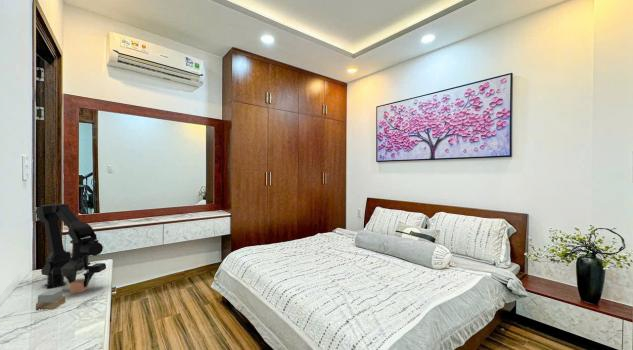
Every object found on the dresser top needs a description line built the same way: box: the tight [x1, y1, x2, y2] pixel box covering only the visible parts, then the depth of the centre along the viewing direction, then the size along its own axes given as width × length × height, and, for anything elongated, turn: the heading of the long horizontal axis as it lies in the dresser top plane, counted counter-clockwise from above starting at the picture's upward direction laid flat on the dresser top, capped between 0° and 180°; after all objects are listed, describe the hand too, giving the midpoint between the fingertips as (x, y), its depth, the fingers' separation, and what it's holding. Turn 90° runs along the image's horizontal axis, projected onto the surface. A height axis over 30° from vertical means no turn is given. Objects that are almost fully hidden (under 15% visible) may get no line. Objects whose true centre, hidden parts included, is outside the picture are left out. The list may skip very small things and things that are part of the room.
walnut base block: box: [35, 295, 66, 311], centre depth 106 cm, size 6×6×3 cm
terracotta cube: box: [69, 278, 89, 294], centre depth 120 cm, size 4×4×4 cm
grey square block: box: [37, 289, 64, 303], centre depth 105 cm, size 5×5×3 cm
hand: (79, 287), depth 120 cm, fingers open, 5 cm apart
